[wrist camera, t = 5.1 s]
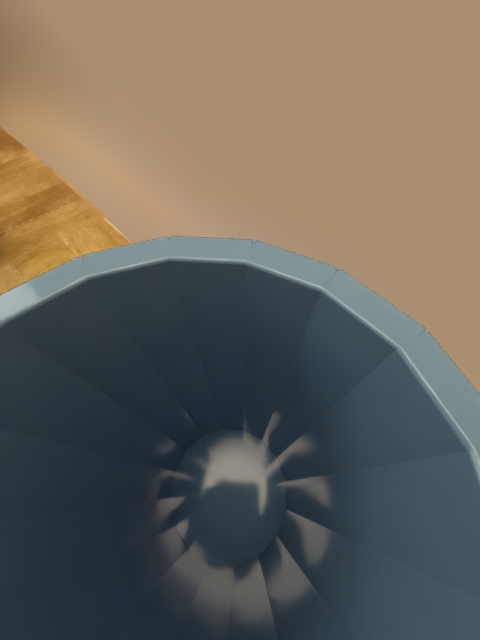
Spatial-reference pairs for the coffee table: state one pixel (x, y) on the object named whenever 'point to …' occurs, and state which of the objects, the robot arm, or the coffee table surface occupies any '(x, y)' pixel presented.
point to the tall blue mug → (230, 454)
